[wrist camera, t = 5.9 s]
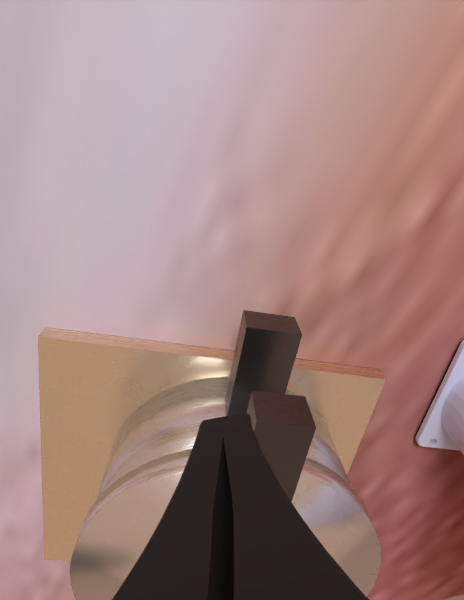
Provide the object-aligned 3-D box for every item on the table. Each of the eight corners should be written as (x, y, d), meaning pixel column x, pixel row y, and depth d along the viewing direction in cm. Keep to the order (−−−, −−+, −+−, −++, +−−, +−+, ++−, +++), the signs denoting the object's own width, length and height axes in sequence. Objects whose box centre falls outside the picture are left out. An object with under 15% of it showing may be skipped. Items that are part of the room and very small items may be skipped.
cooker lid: (327, 639, 23) (341, 702, 21) (76, 630, 22) (58, 698, 19) (446, 393, 16) (491, 445, 13) (80, 352, 14) (52, 401, 12)
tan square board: (402, 309, 21) (468, 372, 16) (303, 560, 30) (323, 657, 25) (44, 256, 19) (-22, 309, 14) (49, 545, 28) (10, 647, 22)
